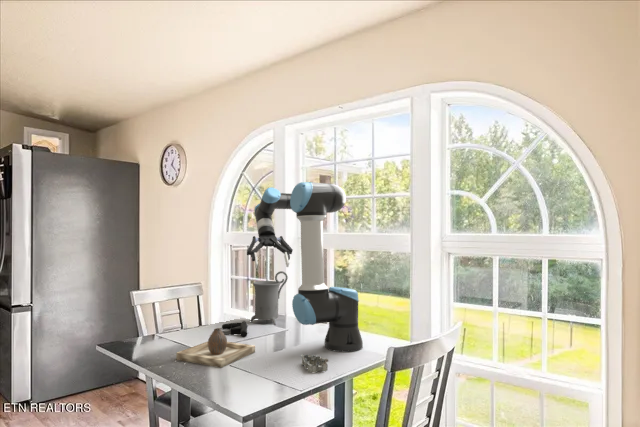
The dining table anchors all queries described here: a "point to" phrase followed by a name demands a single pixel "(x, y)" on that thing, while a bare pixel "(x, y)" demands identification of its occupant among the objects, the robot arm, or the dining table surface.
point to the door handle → (235, 328)
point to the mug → (267, 298)
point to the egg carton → (314, 363)
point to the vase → (217, 342)
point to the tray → (205, 357)
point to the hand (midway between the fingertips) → (272, 265)
